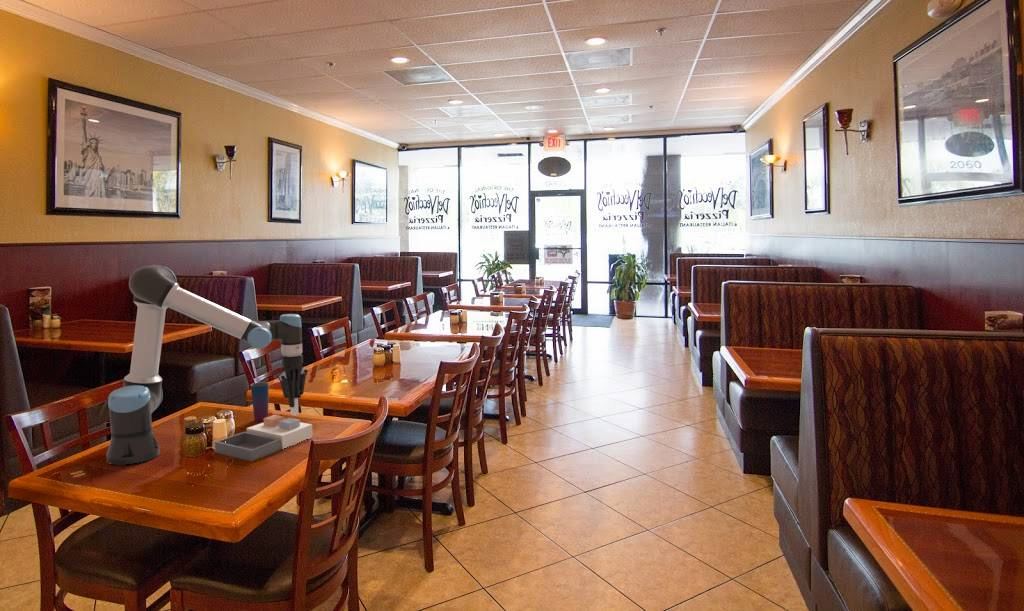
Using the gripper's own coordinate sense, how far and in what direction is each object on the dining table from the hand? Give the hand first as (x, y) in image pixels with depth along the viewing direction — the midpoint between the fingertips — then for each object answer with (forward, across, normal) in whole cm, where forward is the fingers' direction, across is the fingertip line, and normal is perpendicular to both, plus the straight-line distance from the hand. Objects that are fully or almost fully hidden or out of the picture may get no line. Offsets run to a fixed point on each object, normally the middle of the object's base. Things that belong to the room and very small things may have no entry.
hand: (294, 414), depth 227 cm
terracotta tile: (+1, -10, 0) cm, 10 cm away
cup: (+6, +2, +21) cm, 22 cm away
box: (+6, -25, -4) cm, 26 cm away
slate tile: (+1, -10, -8) cm, 13 cm away
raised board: (+6, -11, -4) cm, 13 cm away
